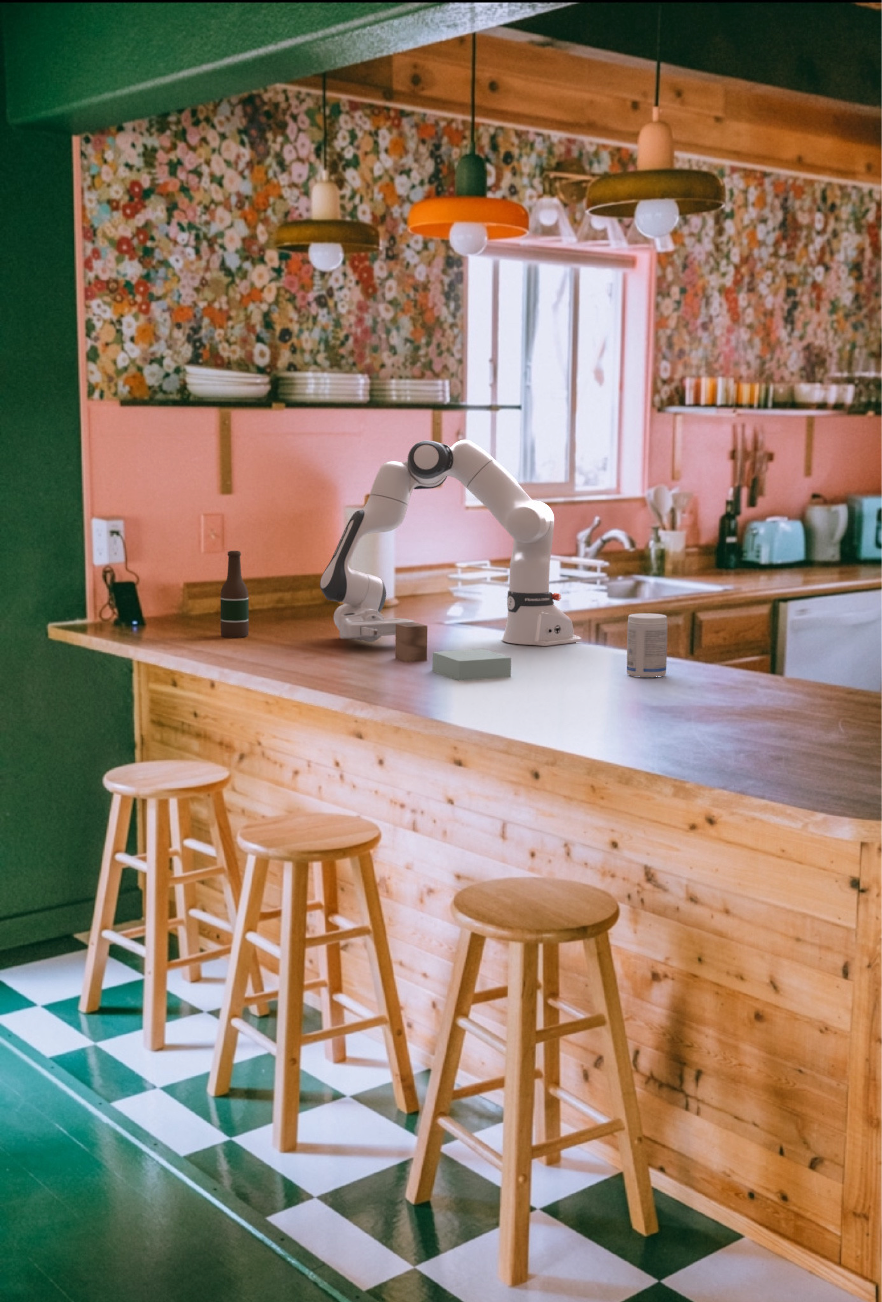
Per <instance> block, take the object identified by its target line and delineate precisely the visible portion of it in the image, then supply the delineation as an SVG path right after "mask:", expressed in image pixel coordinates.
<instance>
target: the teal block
mask: <svg viewBox="0 0 882 1302" xmlns="http://www.w3.org/2000/svg"><path fill="white" fill-rule="evenodd" d="M431 668H432V670H431V671H432V672H435V673H438V674H439V675H442V676H443V675H444V676H446V677H447V678H451V679H453V680H456V681H468V680H469V681H471V680H482V679H496V678H511V675H512V673H511V672H512V669H511V668H512V657H510V656H507V655H504V654H501V653H498V652H494V651H491V650H488V649H484V648H476V649H473V648H472V649H459V650H443V651H433V652H432V667H431Z"/></svg>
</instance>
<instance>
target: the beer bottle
mask: <svg viewBox="0 0 882 1302" xmlns="http://www.w3.org/2000/svg"><path fill="white" fill-rule="evenodd" d="M227 556H228V561H227V562H228V563H227V576H226V579H225V582H224V583H223V584H222V588H221V589H220V635H221V637H222V638H226V639H242V638H243V639H245V638H247V637H248V636H249V631H250V630H249V629H250V627H249V625H250V624H249V620H250V619H249V617H250V616H249V613H250V611H249V609H250V608H249V606H250V605H249V603H250V602H249V590H248V587H247V585H246V584H245V582H244V580H243V576H242V568H241V556H242V552H241V551H240V550H229V551H227Z"/></svg>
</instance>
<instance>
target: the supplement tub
mask: <svg viewBox="0 0 882 1302" xmlns="http://www.w3.org/2000/svg"><path fill="white" fill-rule="evenodd" d="M626 633H627V635H626V637H627V638H626V639H627V641H626V642H627V643H626V674H627V675H628V674H629V675H628V676H630V675H631V676H630V677H633V676H640V677H656V676H657V677H658V676H663V677H664V676H666V675H667V661H668V655H667V654H668V616H667V615H665V614H661V613H646V612H645V613H644V612H643V613H632V614H629V615H628V620H627V632H626Z"/></svg>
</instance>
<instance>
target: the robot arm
mask: <svg viewBox="0 0 882 1302" xmlns="http://www.w3.org/2000/svg"><path fill="white" fill-rule="evenodd" d="M448 477H451V478H454V479H456V480H457V481H459V482H460V484H462V485H463V486H464V487H465V488H466V489H467V490H468V491H469V492H470V493H471V494H472V495H473V496H474V497H475V498H476V499H477V500H479V502H481V504H482V505H484V506H485V508H486V509H487V510H488V511H489V512H490V513H491V514H492V515H493V517H494V518H495V519H496V520H497V521H498V522H499V523H498V524H500V525H501V526H502V527H503V528H504V529H505V531H506V532H507V533H508V534H509V535H510V536H511V537H512V538H513V543H512V544H513V545H512V550H511V551H512V552H511V557H510V561H509V588H508V591H507V603H506V604H507V618H506V623H505V624H506V625H505V629H504V633H503V636H502V639H501V640H502V642H505V643H508V644H509V643H510V644H516V645H529V646H531V645H533V646H542V647H545V646H546V647H547V646H555V645H556V646H557V645H562V644H573V643H580V642H582V637H580V635H579V636H578V635H575V634H574V626H573V622H572V619H571V618H570V617H569V616H568V615H567V614H565V613H564V612H563V611H562V610H561V609H560V608H558V607H557V606H556V605H555V602H554V601H557V602H558V601H560V600H561V599H562V595H561V593H557V592H555V593H552V592H551V591H550V567H551V566H550V563H551V554H552V549H553V540H554V532H555V531H554V530H555V529H554V528H555V516H554V513H553V511H552V508H550V506H549V505H547V504H546V503H544V502H542V501H539V500H538V501H537V500H533V499H532V498H531V497H530V496H529V495H528V494H527V492H526V491H525V490H524V489H523V488H522V486H521V485H520V484H519V483H518V481H517V480H516V479H515V477H513V476H512V474H510V473H509V472H508V471H507V470H506V469H505V468H504V467H503V466H502V465H501V464H500V463H499V462H498V461H497V460H495V459H494V458H493V457H492V456H491V455H490V454H489V453H487V452H486V451H485V450H484V449H482V447H480V446H478V445H477V444H475V443H474V442H472V441H471V440H467V439H461V440H459V441H457V442H455V443H453V445H452V446H449V445H448V444H446V443H445V444H444V443H440V442H437V441H434V440H428V439H427V440H420V441H418V442H417V443H415V444H414V445H413V446H412V447H411V448H410V450H409V452H408V454H407V460H406V461H403V462H399V461H394V460H393V461H387V462H385V463H383V464H382V465H380V468H379V470H378V472H377V474H376V476H375V478H374V480H373V484H372V487H371V489H370V493H369V496H368V499H367V501H366V503H365V505H364V506H363V507H362V508H361V509H360V510H356V511H354V513H353V514H352V515H351V517H350V519H349V520H348V522H347V524H346V526H345V528H344V530H343V533H342V534H341V537H340V539H339V541H338V543H337V546H336V548H335V551H334V553H333V555H332V557H331V559H330V561H329V562H328V564H327V566H326V567H325V569H324V571H323V573H322V575H321V578H320V581H319V587H320V590H321V592H322V594H323V596H324V597H325V599H326V600H328V601H332V602H336V603H342V604H341V605H339V606H337V608H336V609H335V610H334V613H333V622H334V624H335V627H337V629H338V632H339V638H340V639H343V640H359V641H362V642H363V641H364V642H369V643H371V642H376V641H377V640H379V639H380V638H381V637H382V636H396V624H402V623H416V621H415V620H414V619H409V618H408V619H407V618H398V617H396V618H395V617H393V618H385V617H384V616H383V614H382V613H381V612H382V610H383V608H384V606H385V603H386V600H387V599H386V598H387V589H386V586H385V582H384V581H383V580H382V578H381V576H380V577H379V576H376V575H373V574H370V573H367V572H363V571H359V570H356V569H354V568H351V567H350V566H349V565H350V562H351V560H352V558H353V556H354V553H355V551H356V549H357V546H358V544H359V542H360V540H361V539H362V538H363V537H364V536H367V535H368V534H376V533H386V532H391V531H393V530H396V529H397V528H398V527H400V526H401V524H402V523H403V521H404V519H405V517H406V513H407V512H408V511H407V510H408V506H409V503H410V499H411V495H412V493H413V490H430V489H431V490H432V489H435V488H437V487H440V486H441V485H442V484H443V483H444V482H445V481H446V479H447V478H448Z"/></svg>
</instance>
